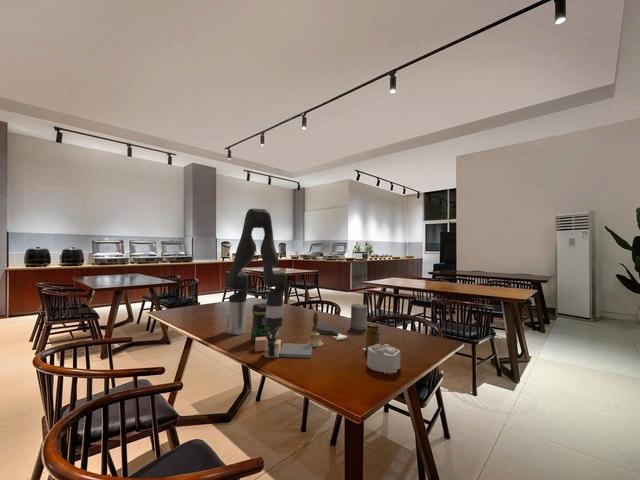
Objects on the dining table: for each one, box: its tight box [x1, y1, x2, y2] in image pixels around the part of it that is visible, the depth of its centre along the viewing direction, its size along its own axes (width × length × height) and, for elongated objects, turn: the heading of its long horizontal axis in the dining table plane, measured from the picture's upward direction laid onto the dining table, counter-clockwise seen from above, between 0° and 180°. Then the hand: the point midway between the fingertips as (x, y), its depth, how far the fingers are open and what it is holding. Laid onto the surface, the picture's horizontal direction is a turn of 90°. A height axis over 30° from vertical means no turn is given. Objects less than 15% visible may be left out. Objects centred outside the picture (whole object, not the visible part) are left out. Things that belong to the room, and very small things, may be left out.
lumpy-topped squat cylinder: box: [366, 343, 401, 375], centre depth 127 cm, size 10×13×9 cm
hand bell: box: [306, 311, 324, 348], centre depth 154 cm, size 8×8×16 cm
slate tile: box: [279, 342, 313, 359], centre depth 142 cm, size 14×14×2 cm
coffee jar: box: [250, 302, 270, 342], centre depth 159 cm, size 10×8×19 cm
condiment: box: [361, 323, 380, 353], centre depth 147 cm, size 7×8×12 cm
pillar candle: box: [349, 303, 368, 331], centre depth 187 cm, size 10×10×15 cm
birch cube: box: [264, 339, 282, 358], centre depth 137 cm, size 6×6×6 cm
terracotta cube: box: [254, 337, 267, 352], centre depth 145 cm, size 5×5×5 cm
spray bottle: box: [312, 323, 348, 341], centre depth 173 cm, size 3×11×24 cm
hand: (272, 352), depth 137 cm, fingers closed on birch cube, 6 cm apart
